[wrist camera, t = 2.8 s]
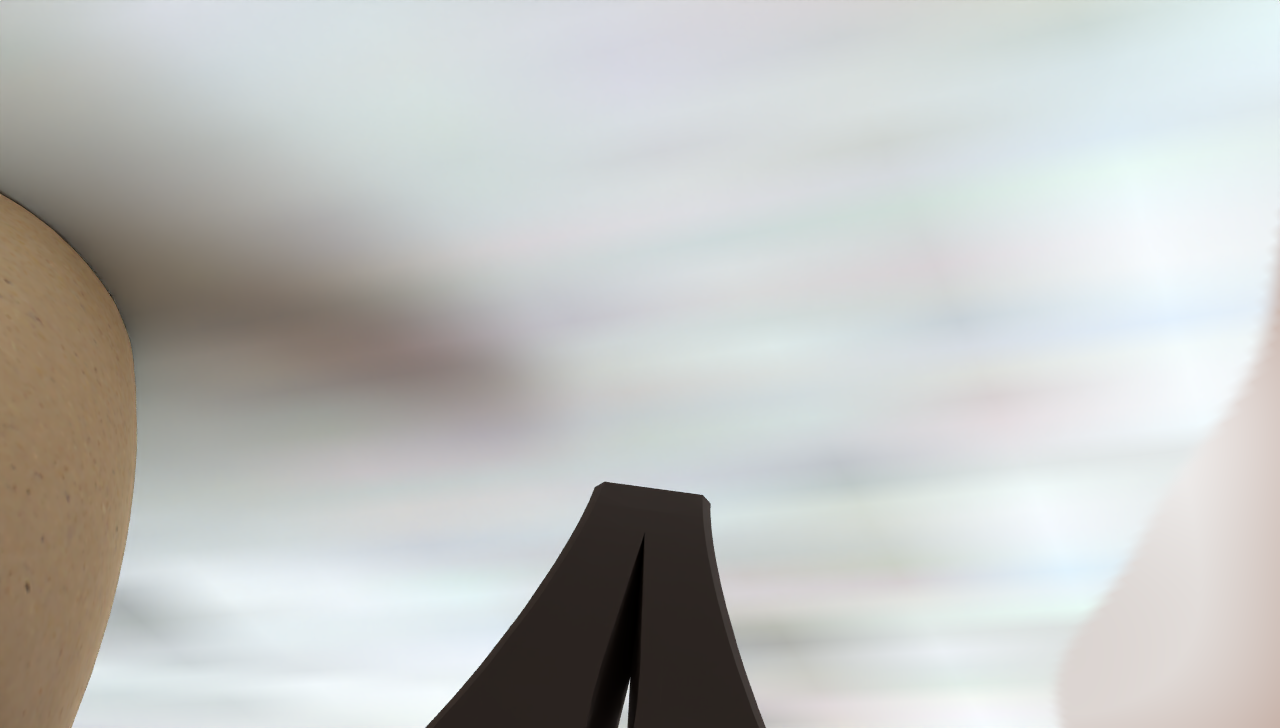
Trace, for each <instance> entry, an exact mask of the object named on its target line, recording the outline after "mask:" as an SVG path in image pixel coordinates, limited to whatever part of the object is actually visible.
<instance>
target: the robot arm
mask: <svg viewBox="0 0 1280 728" xmlns="http://www.w3.org/2000/svg"><path fill="white" fill-rule="evenodd" d="M629 680H630V693H629V711H628V728H766V727H765V725H764V722H763V719H762V717H761V714H760V711H759V709H758V706H757V703H756V700H755V697H754V695H753V692H752V689H751V686H750V683H749V681H748V678H747V675H746V672H745V669H744V666H743V662H742V659H741V656H740V653H739V650H738V647H737V643H736V639H735V636H734V632H733V629H732V625H731V622H730V618H729V615H728V611H727V608H726V604H725V600H724V596H723V591H722V587H721V583H720V578H719V573H718V568H717V563H716V558H715V552H714V546H713V538H712V530H711V517H710V502H709V501H708V500H707V499H706V498H705V497H704V496H703V495H698V494H691V493H684V492H676V491H669V490H662V489H654V488H647V487H639V486H632V485H625V484H617V483H610V482H603V483H602V484H600V485H598V486H596V487H595V488H594V491H593V493H592V496H591V498H590V500H589V503H588V505H587V507H586V509H585V511H584V513H583V515H582V517H581V519H580V521H579V523H578V524H577V526H576V528H575V530H574V532H573V533H572V535H571V537H570V539H569V540H568V542H567V544H566V545H565V547H564V549H563V550H562V552H561V554H560V555H559V557H558V559H557V560H556V562H555V563H554V565H553V566H552V568H551V569H550V571H549V572H548V574H547V575H546V577H545V578H544V580H543V581H542V583H541V584H540V586H539V587H538V589H537V590H536V592H535V593H534V595H533V596H532V598H531V599H530V601H529V602H528V604H527V605H526V606H525V608H524V609H523V611H522V612H521V613H520V615H519V616H518V617H517V619H516V620H515V621H514V623H513V624H512V625H511V626H510V628H509V629H508V630H507V632H506V633H505V634H504V636H503V637H502V638H501V639H500V641H499V642H498V643H497V645H496V646H495V647H494V649H493V650H492V651H491V652H490V654H489V655H488V656H487V658H486V659H485V660H484V661H483V663H482V664H481V665H480V666H479V668H478V669H477V670H476V671H475V672H474V674H473V675H472V676H471V677H470V678H469V679H468V681H467V682H466V683H465V684H464V685H463V687H462V688H461V689H460V690H459V691H458V692H457V693H456V695H455V696H454V697H453V698H452V699H451V700H450V701H449V702H448V704H447V705H446V706H445V707H444V708H443V709H442V710H441V711H440V712H439V713H438V715H437V716H436V717H435V718H434V719H433V720H432V721H431V722H430V723H429V724H428V725H427V727H426V728H618V725H619V721H620V717H621V713H622V709H623V705H624V701H625V697H626V693H627V689H628V685H629Z"/></svg>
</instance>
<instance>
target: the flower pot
mask: <svg viewBox="0 0 1280 728" xmlns="http://www.w3.org/2000/svg"><path fill="white" fill-rule="evenodd" d="M136 453H137V417H136V386H135V374H134V363H133V354H132V347H131V343H130V339H129V336H128V333H127V331H126V328H125V326H124V323H123V321H122V318H121V316H120V313H119V311H118V309H117V307H116V305H115V303H114V301H113V299H112V298H111V296H110V295H109V293H108V292H107V290H106V289H105V287H104V286H103V284H102V283H101V281H100V280H99V279H98V277H97V276H96V275H95V273H94V272H93V271H92V270H91V268H90V267H89V266H88V264H87V263H86V262H85V261H84V260H83V259H82V258H81V257H80V256H79V255H78V253H77V252H76V251H75V250H74V249H73V248H72V247H71V246H69V245H68V244H67V243H66V242H65V241H64V240H63V239H62V238H61V237H60V236H59V235H58V234H57V233H56V232H55V231H54V230H53V229H51V228H50V227H49V226H47V225H46V224H45V223H44V222H42V221H41V220H40V219H38V218H37V217H36V216H35V215H33V214H32V213H30V212H29V211H28V210H26V209H25V208H23V207H22V206H20V205H18V204H17V203H15V202H14V201H12V200H10V199H9V198H7V197H5V196H3V195H2V194H0V728H71V727H72V725H73V722H74V719H75V717H76V714H77V711H78V709H79V706H80V703H81V701H82V698H83V695H84V693H85V690H86V687H87V685H88V682H89V679H90V677H91V674H92V671H93V667H94V664H95V661H96V658H97V655H98V652H99V649H100V645H101V642H102V639H103V636H104V632H105V629H106V626H107V622H108V619H109V616H110V612H111V608H112V604H113V600H114V596H115V592H116V588H117V584H118V579H119V575H120V570H121V565H122V560H123V555H124V550H125V545H126V539H127V533H128V527H129V521H130V513H131V505H132V497H133V489H134V479H135V467H136Z"/></svg>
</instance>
